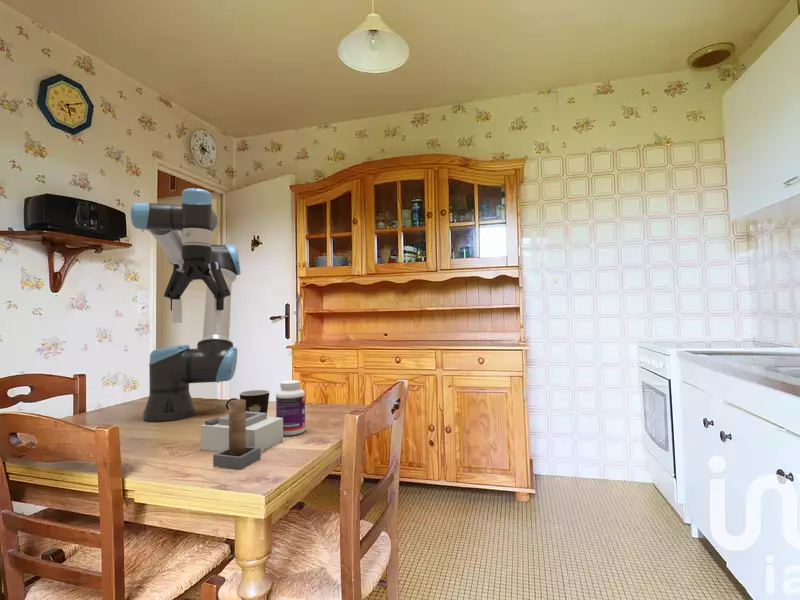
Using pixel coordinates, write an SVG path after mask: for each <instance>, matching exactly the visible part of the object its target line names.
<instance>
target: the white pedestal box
mask: <svg viewBox="0 0 800 600" xmlns="http://www.w3.org/2000/svg"><path fill="white" fill-rule="evenodd" d="M283 441H284V435H283V418H278V417H276V416H268V412H267V413H261V412H247V411H246V446H249V447H259V448H260V453H262V452H263V450H264V451H266V450H268V449H270V448H272V447H273V446H275V445H277V444H279V443H281V442H283ZM271 446H272V447H271ZM269 447H270V448H269ZM227 448H229V414H227V415H226V416H221V417H215V418H212V419H209V420H205V421H204V424H201V425H200V450H201V449H202V450H201V451H211V452H219V451H223V450H225V449H227ZM267 448H268V449H267ZM265 449H266V450H265Z"/></svg>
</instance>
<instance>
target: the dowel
mask: <svg viewBox="0 0 800 600" xmlns="http://www.w3.org/2000/svg"><path fill="white" fill-rule="evenodd" d="M236 399H237V400H231V401H229V403H228V408H229V410H228V415H229V455H231V456H241V455H243V454H245V453H246V400H244V399H240V398H236Z"/></svg>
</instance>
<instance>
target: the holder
mask: <svg viewBox="0 0 800 600" xmlns="http://www.w3.org/2000/svg"><path fill="white" fill-rule="evenodd" d="M260 459H261V452H260V448H259V447H249V446H246V453H245V454H243V455H241V456H231V455H229V448H227V449H225V450H223V451H221V452H219V451H218V452H217V453H215V454H213V455H212V464H213V465H212V466H213V467H216V468H224V469H231V470H238V471H239V470H242V469H243V468H246V467H247V466H249V465H251V464H253V463H255V462H256V461H258V460H260Z"/></svg>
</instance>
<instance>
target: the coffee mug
mask: <svg viewBox="0 0 800 600" xmlns="http://www.w3.org/2000/svg"><path fill="white" fill-rule="evenodd" d="M237 399H238V398H236V397H235V398H234V397H232V398H230V399H227V401H226V405H225V407H226V409H227V411H229V401H231V400H237ZM239 399H244V400H246V411H247V412H261V413H267V414H268V407H269V402H270V401H269V400H270V390H266V389H253V390H246V391H242V392H240V393H239Z"/></svg>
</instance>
